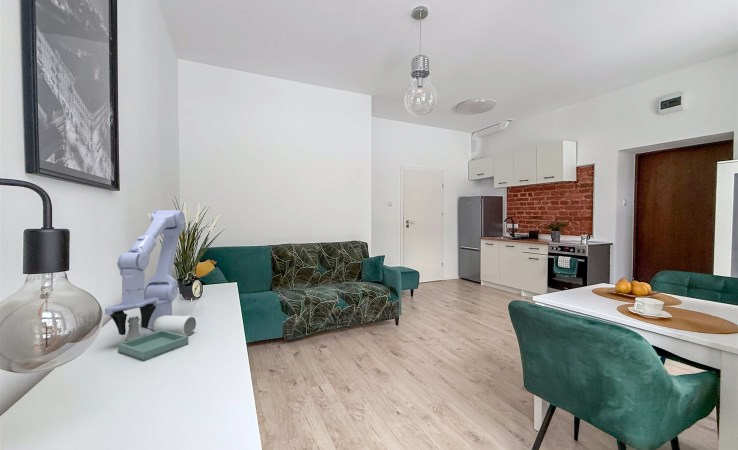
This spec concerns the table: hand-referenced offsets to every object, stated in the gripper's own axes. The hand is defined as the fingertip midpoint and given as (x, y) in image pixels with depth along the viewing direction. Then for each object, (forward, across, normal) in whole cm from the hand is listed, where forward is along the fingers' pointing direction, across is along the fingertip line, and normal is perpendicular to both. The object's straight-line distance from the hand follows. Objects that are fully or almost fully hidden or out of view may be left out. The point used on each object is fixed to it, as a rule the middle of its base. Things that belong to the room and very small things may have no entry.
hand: (133, 330), depth 98 cm
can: (0, +12, -11) cm, 16 cm away
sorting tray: (+4, 0, -11) cm, 12 cm away
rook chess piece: (+4, 0, 0) cm, 4 cm away
